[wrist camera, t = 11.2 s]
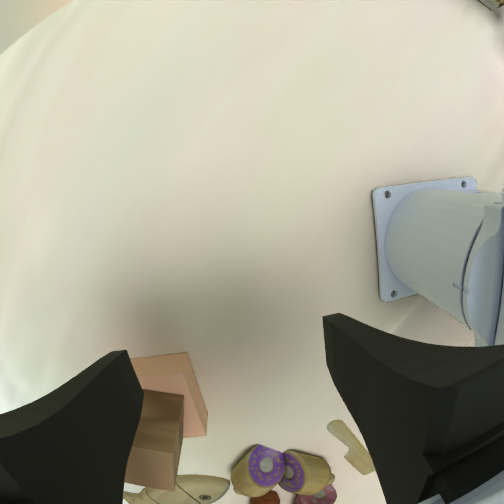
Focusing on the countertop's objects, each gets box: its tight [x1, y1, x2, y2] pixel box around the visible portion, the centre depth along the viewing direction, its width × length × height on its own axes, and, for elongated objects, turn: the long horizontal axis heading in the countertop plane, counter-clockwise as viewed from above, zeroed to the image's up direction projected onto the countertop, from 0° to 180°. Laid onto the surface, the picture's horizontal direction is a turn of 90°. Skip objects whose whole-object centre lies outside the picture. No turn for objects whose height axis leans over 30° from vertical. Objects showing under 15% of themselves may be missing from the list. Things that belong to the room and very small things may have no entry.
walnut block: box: [124, 389, 184, 492], centre depth 17 cm, size 4×4×6 cm
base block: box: [130, 352, 208, 438], centre depth 21 cm, size 6×6×3 cm
